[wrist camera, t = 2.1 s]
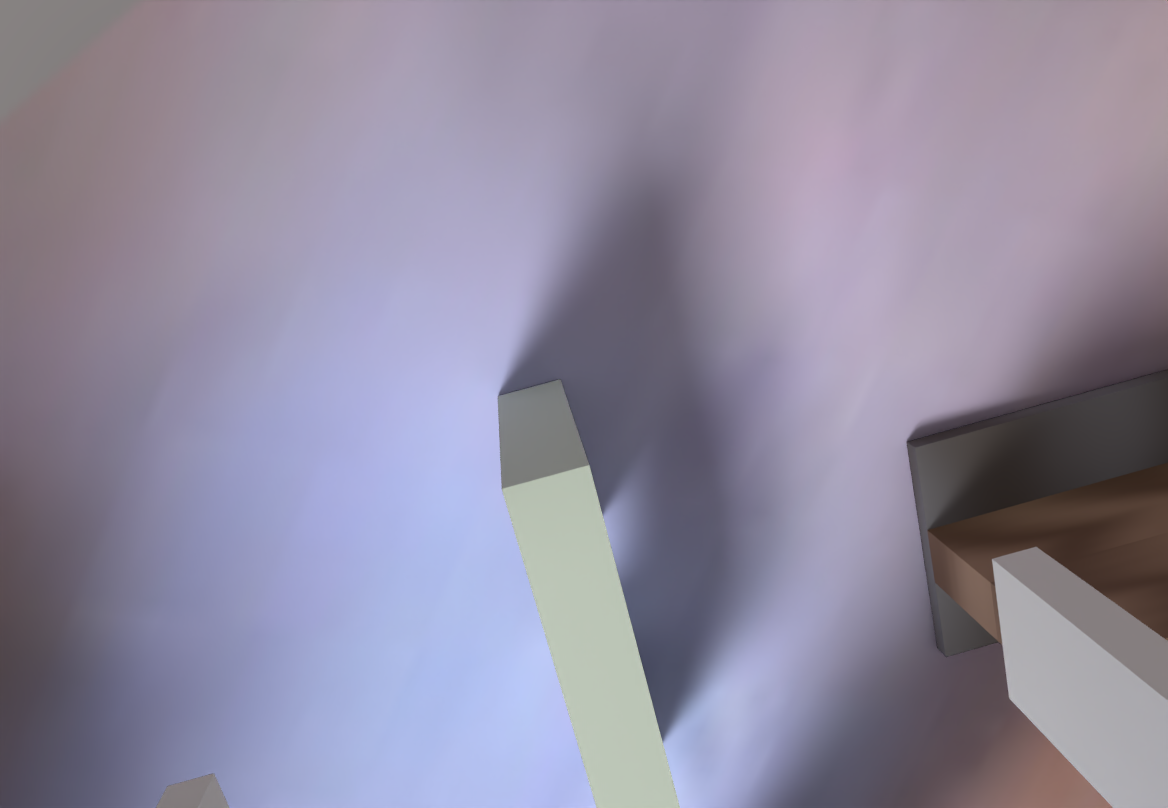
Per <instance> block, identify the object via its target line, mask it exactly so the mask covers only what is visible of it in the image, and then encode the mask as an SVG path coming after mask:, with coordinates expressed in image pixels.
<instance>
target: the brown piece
mask: <svg viewBox="0 0 1168 808" xmlns="http://www.w3.org/2000/svg"><path fill="white" fill-rule="evenodd" d="M907 448H908V455H909V462H910V469H911V475H912V482H913V489H914V495H915V502H916V509H917V515H918V522H919V529H920V535H921V542H922V549H923V556H924V562H925V569H926V576H927V582H928V589H929V596H930V602H931V609H932V616H933V622H934V629H935V636H936V643H937V648H938V649H939V650H940V651H941V652H942V654H943V655H944V656H945V657H948V656H952V655H955V654H959V653H962V652H965V651H969V650H972V649H976V648H979V647H983V646H986V645H990V644H993V643H997V642H999V643H1000V644H1001V645H1002V637H1001V628H1000V620H999V612H998V604H997V596H996V588H995V580H994V572H993V564H992V559H993V558H997V557H1001V556H1004V555H1008V554H1011V553H1015V552H1019V551H1022V550H1026V549H1030V548H1033V547H1037V548H1039V549H1040V550H1042V551H1043V552H1044V553H1046V554H1047V555H1049V556H1050V557H1051V558H1053V559H1054V560H1056V561H1057V562H1058V563H1060V564H1061V565H1063V566H1064V567H1065V568H1067V569H1068V570H1069V571H1071V572H1072V573H1074V574H1075V575H1076V576H1078V577H1079V578H1081V579H1082V580H1083V581H1085V582H1086V583H1088V584H1089V585H1090V586H1092V587H1093V588H1095V589H1096V590H1097V591H1099V592H1100V593H1102V594H1103V595H1104V596H1106V597H1107V598H1109V599H1110V600H1111V601H1113V602H1114V603H1115V604H1117V605H1118V606H1120V607H1121V608H1122V609H1124V610H1125V611H1127V612H1128V613H1129V614H1131V615H1132V616H1134V617H1135V618H1136V619H1138V620H1139V621H1141V622H1142V623H1143V624H1145V625H1146V626H1148V627H1149V628H1150V629H1152V630H1153V631H1155V632H1156V633H1157V634H1159V635H1160V636H1161V637H1163V638H1164V639H1166V640H1167V641H1168V370H1165V371H1162V372H1158V373H1154V374H1151V375H1147V376H1144V377H1140V378H1136V379H1133V380H1129V381H1125V382H1122V383H1118V384H1115V385H1111V386H1107V387H1104V388H1100V389H1097V390H1093V391H1089V392H1086V393H1082V394H1079V395H1075V396H1071V397H1068V398H1064V399H1060V400H1057V401H1053V402H1050V403H1046V404H1042V405H1039V406H1035V407H1032V408H1028V409H1024V410H1021V411H1017V412H1014V413H1010V414H1006V415H1003V416H999V417H995V418H992V419H988V420H985V421H981V422H977V423H974V424H970V425H967V426H963V427H959V428H956V429H952V430H949V431H945V432H941V433H938V434H934V435H930V436H927V437H923V438H920V439H916V440H912V441H909V442H907ZM1002 646H1003V645H1002Z"/></svg>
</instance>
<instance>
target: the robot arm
mask: <svg viewBox="0 0 1168 808" xmlns="http://www.w3.org/2000/svg"><path fill="white" fill-rule="evenodd" d="M992 564H993V572H994V580H995V588H996V596H997V604H998V612H999V620H1000V628H1001V637H1002V645H1003V653H1004V661H1005V669H1006V677H1007V685H1008V693H1009V699H1010V700H1011V701H1012V702H1013V703H1014V704H1015V705H1016V706H1017V707H1018V708H1019V709H1020V710H1021V711H1022V712H1023V713H1024V714H1025V715H1026V716H1027V718H1028V719H1029V720H1030V721H1031V722H1032V723H1033V724H1034V725H1035V726H1036V727H1037V728H1038V729H1039V730H1040V731H1041V732H1042V733H1043V734H1044V735H1045V736H1046V737H1047V739H1048V740H1049V741H1050V742H1051V743H1052V744H1053V745H1054V746H1055V747H1056V748H1057V749H1058V750H1059V751H1060V752H1061V753H1062V754H1063V755H1064V756H1065V757H1066V759H1067V760H1068V761H1069V762H1070V763H1071V764H1072V765H1073V766H1074V767H1075V768H1076V769H1077V770H1078V771H1079V772H1080V773H1081V774H1082V775H1083V776H1084V777H1085V778H1086V780H1087V781H1088V782H1089V783H1090V784H1091V785H1092V786H1093V787H1094V788H1095V789H1096V790H1097V791H1098V792H1099V793H1100V794H1101V795H1102V796H1103V797H1104V798H1105V799H1106V801H1107V802H1108V803H1109V804H1110V805H1111V806H1112V807H1113V808H1168V641H1167V640H1166V639H1164V638H1163V637H1161V636H1160V635H1159V634H1157V633H1156V632H1155V631H1153V630H1152V629H1150V628H1149V627H1148V626H1146V625H1145V624H1143V623H1142V622H1141V621H1139V620H1138V619H1136V618H1135V617H1134V616H1132V615H1131V614H1129V613H1128V612H1127V611H1125V610H1124V609H1122V608H1121V607H1120V606H1118V605H1117V604H1115V603H1114V602H1113V601H1111V600H1110V599H1109V598H1107V597H1106V596H1104V595H1103V594H1102V593H1100V592H1099V591H1097V590H1096V589H1095V588H1093V587H1092V586H1090V585H1089V584H1088V583H1086V582H1085V581H1083V580H1082V579H1081V578H1079V577H1078V576H1076V575H1075V574H1074V573H1072V572H1071V571H1069V570H1068V569H1067V568H1065V567H1064V566H1063V565H1061V564H1060V563H1058V562H1057V561H1056V560H1054V559H1053V558H1051V557H1050V556H1049V555H1047V554H1046V553H1044V552H1043V551H1042V550H1040V549H1039V548H1037V547H1033V548H1030V549H1026V550H1022V551H1019V552H1015V553H1011V554H1008V555H1004V556H1001V557H997V558H993V559H992ZM156 808H229V806H228V804H227V801H226V799H225V797H224V795H223V792H222V790H221V788H220V786H219V784H218V781H217V779H216V777H215V775H214V773H213V774H209V775H206V776H202V777H199V778H195V779H191V780H188V781H184V782H180V783H177V784H173V785H170V786H167V788H166V790H165V792H164V793H163V795H162V797H161V799H160V801H159V803H158V805H157V807H156Z"/></svg>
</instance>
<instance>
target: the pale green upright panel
mask: <svg viewBox="0 0 1168 808" xmlns="http://www.w3.org/2000/svg"><path fill="white" fill-rule="evenodd" d="M498 415H499V438H500V461H501V483H502V491H503V495H504V498H505V502H506V505H507V508H508V512H509V515H510V518H511V522H512V525H513V528H514V532H515V535H516V538H517V542H518V545H519V549H520V552H521V555H522V559H523V562H524V565H525V569H526V572H527V575H528V579H529V582H530V585H531V589H532V592H533V596H534V599H535V602H536V606H537V609H538V612H539V616H540V619H541V622H542V626H543V629H544V632H545V636H546V639H547V643H548V646H549V649H550V653H551V656H552V659H553V663H554V666H555V669H556V673H557V676H558V679H559V683H560V686H561V690H562V693H563V696H564V700H565V703H566V706H567V710H568V713H569V716H570V720H571V723H572V726H573V730H574V733H575V737H576V740H577V743H578V747H579V750H580V753H581V757H582V760H583V763H584V767H585V770H586V773H587V777H588V780H589V783H590V787H591V790H592V794H593V797H594V800H595V804H596V807H597V808H680V806H679V803H678V799H677V795H676V791H675V788H674V784H673V780H672V776H671V772H670V769H669V765H668V761H667V757H666V753H665V750H664V746H663V742H662V738H661V735H660V731H659V727H658V723H657V719H656V716H655V712H654V708H653V704H652V700H651V697H650V693H649V689H648V685H647V681H646V678H645V674H644V670H643V666H642V663H641V659H640V655H639V651H638V647H637V644H636V640H635V636H634V632H633V628H632V625H631V621H630V617H629V613H628V610H627V606H626V602H625V598H624V594H623V591H622V587H621V583H620V579H619V575H618V572H617V568H616V564H615V560H614V557H613V553H612V549H611V545H610V541H609V538H608V534H607V530H606V526H605V522H604V519H603V515H602V511H601V507H600V504H599V500H598V496H597V492H596V488H595V485H594V481H593V477H592V473H591V469H590V466H589V463H588V460H587V457H586V454H585V451H584V448H583V445H582V442H581V439H580V436H579V433H578V430H577V427H576V424H575V421H574V418H573V415H572V412H571V409H570V406H569V403H568V400H567V397H566V395H565V392H564V389H563V386H562V383H561V380H560V379H559V380H555V381H552V382H548V383H544V384H541V385H537V386H533V387H529V388H526V389H522V390H518V391H515V392H511V393H507V394H504V395H500V396H498Z"/></svg>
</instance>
